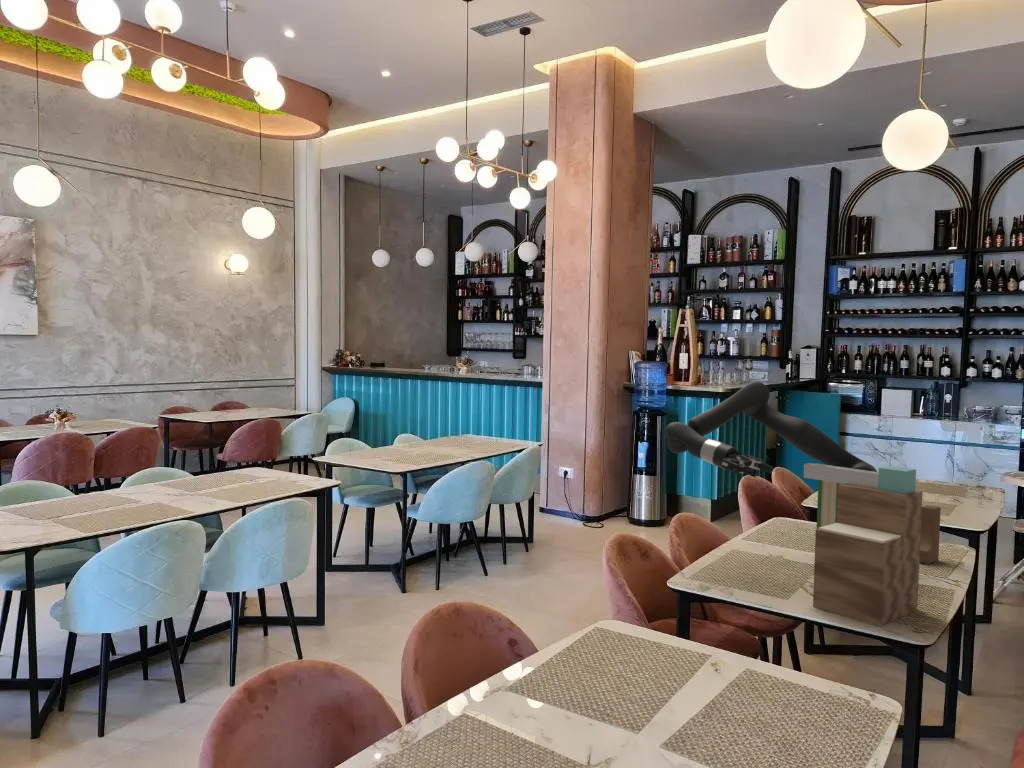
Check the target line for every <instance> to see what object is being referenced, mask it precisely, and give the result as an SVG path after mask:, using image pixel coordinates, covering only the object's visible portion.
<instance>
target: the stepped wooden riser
mask: <svg viewBox="0 0 1024 768" xmlns="http://www.w3.org/2000/svg"><path fill="white" fill-rule="evenodd" d="M922 506H923V491H921V490H915V492H912V493H908V494H900V493H894V492H887V491H881V490H878V489H873V488H867V487H860V486H854V485H848V484H840V485H838V501H837V523H834V524H830V525H827V526H823V527H819V529H817V528H816V529H815V541H814V545H815V546H814V568H813V571H814V572H813V596H812V597H813V599H812V607H813V608H817V609H820V610H824V611H827V612H830V613H834V614H837V615H839V616H843V617H846V618H849V619H853V620H856V621H859V622H863V623H865V624H866V623H867V624H870V625H872V626H876V627H879V628H881V627H883V626H885V625H888V624H890V623H892V622H894V621H896V620H898V619H900V618H902V617H905V616H907V615H910V614H911V613H913V612H915V611H917V610H918V603H919V602H918V600H919V583H920V581H919V578H920V576H919V575H920V563H919V559H920V536H921V513H922Z"/></svg>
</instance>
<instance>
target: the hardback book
mask: <svg viewBox="0 0 1024 768" xmlns="http://www.w3.org/2000/svg"><path fill="white" fill-rule="evenodd" d="M817 484H818V485H817V508H816V530H817V529H819V527H823V526H827V525H830V524H834V523H837V501H838V485H840V484H841V483H835V482H829V481H822V480H818V481H817Z"/></svg>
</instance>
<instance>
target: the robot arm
mask: <svg viewBox="0 0 1024 768" xmlns="http://www.w3.org/2000/svg"><path fill="white" fill-rule="evenodd" d="M770 397H771V394H770V390H769V387H768V386H767V385H766V384H764V383H762V382H761V381H760V382H759V381H752V382H751V381H750V382H749V383H747V384H745V385H744V386H743V387H742V388H740V389H739V390H738V391H736V392H735V393H734V394H732V395H731V396H729V397H728V398H726V399H725V400H723V401H721V402H720V403H718V404H717V405H714V406H712V407H711V408H709V409H706V410H705V411H704V412H701V413H700V414H697V415H695V416H693V417H691V419H689V420H688V422H687V424H685V423H683V422H679V421H673V422H670V423H669V424H667V425H666V427H665V435H666V436H665V437H666V442H667V447H668V449H669V451H670V452H671V453H674V454H683V453H685V452H687V451H688V453H689V454H690V455H692V456H694V457H696V458H698V459H701V460H702V461H704V462H707V463H708V464H711V465H713V466H716V467H718V468H719V469H723V470H725V471H731V472H733V473H735V474H746V475H747V476H750V477H753V478H755V477H757V476H758V470H759V471H762V472H764V473H766V474H772V473H773V471H774V470H773V469H774V467H773V466H772V465H769V464H767V463H764V462H765V460H764V459H761V458H760V457H756V456H753V455H751V454H746V455H743V454H740V455H739V452H738V449H737V448H736V447H735V446H732V445H730V444H727V443H724V442H721V441H718V440H716V439H711V438H708V437H707V435H708V434H709V435H710V433H712V432H714V431H716V430H717V429H719V428H720V427H722V426H724V425H725V424H726V423H727V422H729V421H730V420H731V419H732V418H734V417H735V416H736V415H738V414H739V413H741V412H742V413H743V414H744V415H747V417H749V418H751V419H753V420H755V421H756V422H758V423H759V424H761V425H764V426H765V427H766V428H768V429H769V430H771V431H772V432H774V433H775V434H776V435H778V436H779V437H781V438H782V439H784V440H786V441H787V442H788V443H789V444H790V445H792V446H793V447H794V448H796V449H798V451H800V452H802V453H803V454H805V455H806V456H808V457H810V458H812V459H814V460H815V461H817V462H820V463H821V464H823V465H831V466H838V467H845V468H852V469H859V470H866V471H873V472H878V470H877V469H876V468H875V466H873V465H872V464H870V463H868V462H867V461H865V460H863V459H860V458H859V457H857V456H855V455H854V454H852V453H851V452H849V451H847V450H846V449H844V448H843V446H841V445H839V444H838V443H837V442H836V441H835V440H834V439H832V438H831V437H830V436H828V435H827V434H826V433H824V432H823V431H822V430H820V429H819V428H818V427H817V426H815V425H813V424H812V423H810V422H809V421H807V420H805V419H802V418H800V417H796V416H791V415H787V414H785V413H782V412H780V411H778V410H777V409H775V408H774V407H772V406H771V405H770V404H769V403H768V402H769V400H770Z"/></svg>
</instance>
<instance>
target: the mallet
mask: <svg viewBox="0 0 1024 768" xmlns="http://www.w3.org/2000/svg"><path fill="white" fill-rule="evenodd" d="M916 477H917V469H915V468H908V467H901V466H900V467H899V466H892V465H888V466H880V467H878V471H877V472H873V471H866V470H859V469H852V468H845V467H838V466H831V465H826V464H824V463H815V462H807V463H804V464H803V478H804V479H809V480H811V479H812V480H822V481H829V482H835V483H841V484H848V485H854V486H860V487H867V488H873V489H878V490H881V491H887V492H894V493H900V494H908V493H912V492H915V491H916V484H917V483H916V479H917V478H916Z"/></svg>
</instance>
